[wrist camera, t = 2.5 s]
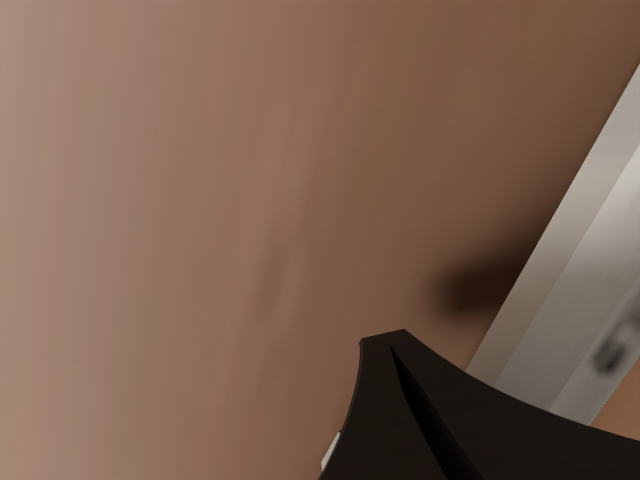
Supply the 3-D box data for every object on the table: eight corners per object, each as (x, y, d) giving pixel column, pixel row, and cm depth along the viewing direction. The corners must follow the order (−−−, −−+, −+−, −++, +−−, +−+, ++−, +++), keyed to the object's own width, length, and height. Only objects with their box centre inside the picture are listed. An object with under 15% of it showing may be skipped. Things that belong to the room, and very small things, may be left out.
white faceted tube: (1099, -143, 8) (478, 808, 9) (715, 11, 14) (394, 550, 16) (949, -328, 7) (292, 763, 8) (613, -72, 13) (285, 509, 15)
